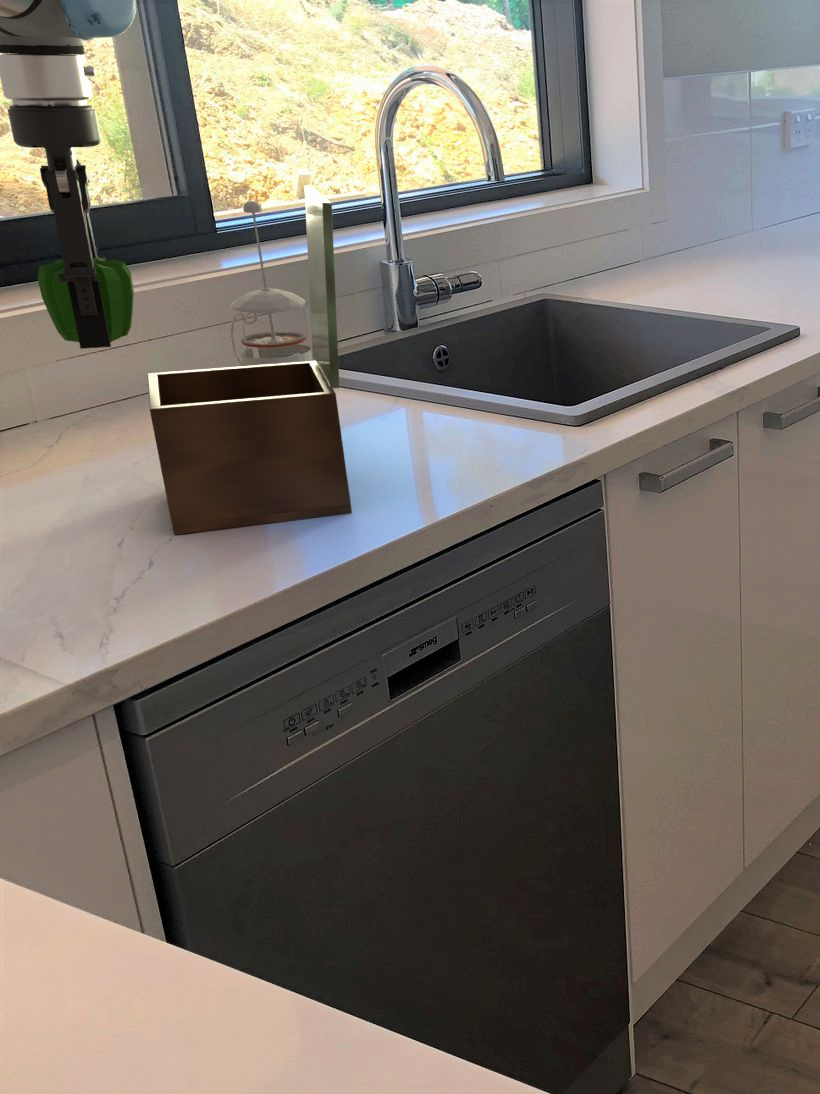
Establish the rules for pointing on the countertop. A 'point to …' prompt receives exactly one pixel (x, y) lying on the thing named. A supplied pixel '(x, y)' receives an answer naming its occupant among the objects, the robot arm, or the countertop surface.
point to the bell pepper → (113, 292)
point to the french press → (270, 301)
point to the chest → (248, 445)
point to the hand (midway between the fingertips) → (96, 338)
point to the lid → (322, 284)
